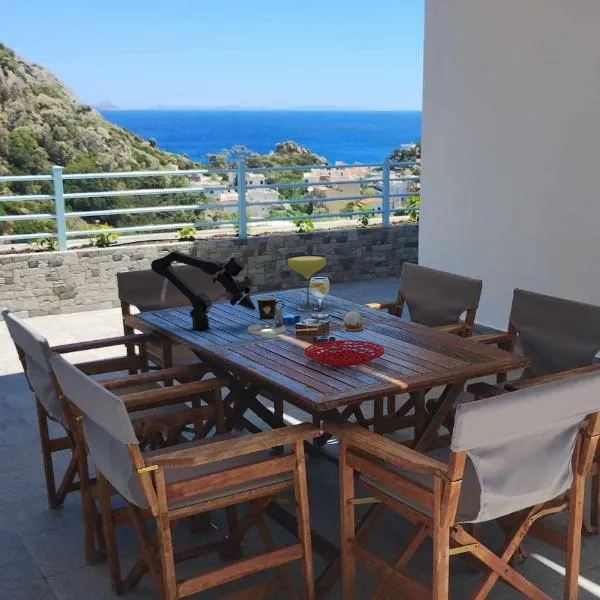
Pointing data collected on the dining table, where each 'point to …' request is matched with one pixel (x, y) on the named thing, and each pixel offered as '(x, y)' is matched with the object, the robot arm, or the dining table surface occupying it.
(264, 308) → the coffee mug
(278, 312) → the turntable platter
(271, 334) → the base plate
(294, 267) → the cocktail glass
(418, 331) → the dining table surface
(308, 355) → the bowl
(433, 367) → the dining table surface
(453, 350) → the dining table surface
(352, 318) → the decorative ornament
